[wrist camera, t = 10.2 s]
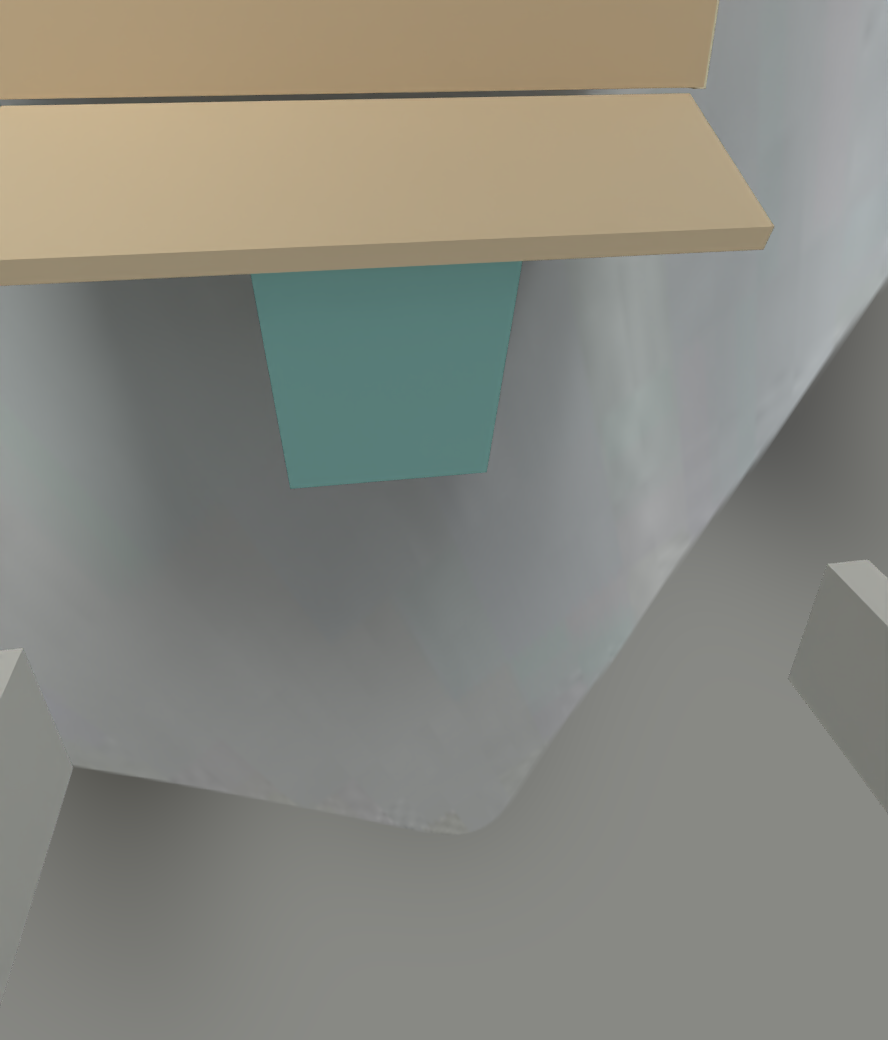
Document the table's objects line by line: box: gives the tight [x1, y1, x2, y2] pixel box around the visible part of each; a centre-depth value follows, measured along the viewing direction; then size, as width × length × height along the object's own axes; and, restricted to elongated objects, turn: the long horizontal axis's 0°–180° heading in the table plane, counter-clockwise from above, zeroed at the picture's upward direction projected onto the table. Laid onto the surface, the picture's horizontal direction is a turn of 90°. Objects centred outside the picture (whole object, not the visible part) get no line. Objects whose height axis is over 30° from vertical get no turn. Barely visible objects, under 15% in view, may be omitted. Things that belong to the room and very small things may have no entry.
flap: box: [0, 93, 774, 489], centre depth 21 cm, size 6×17×9 cm
